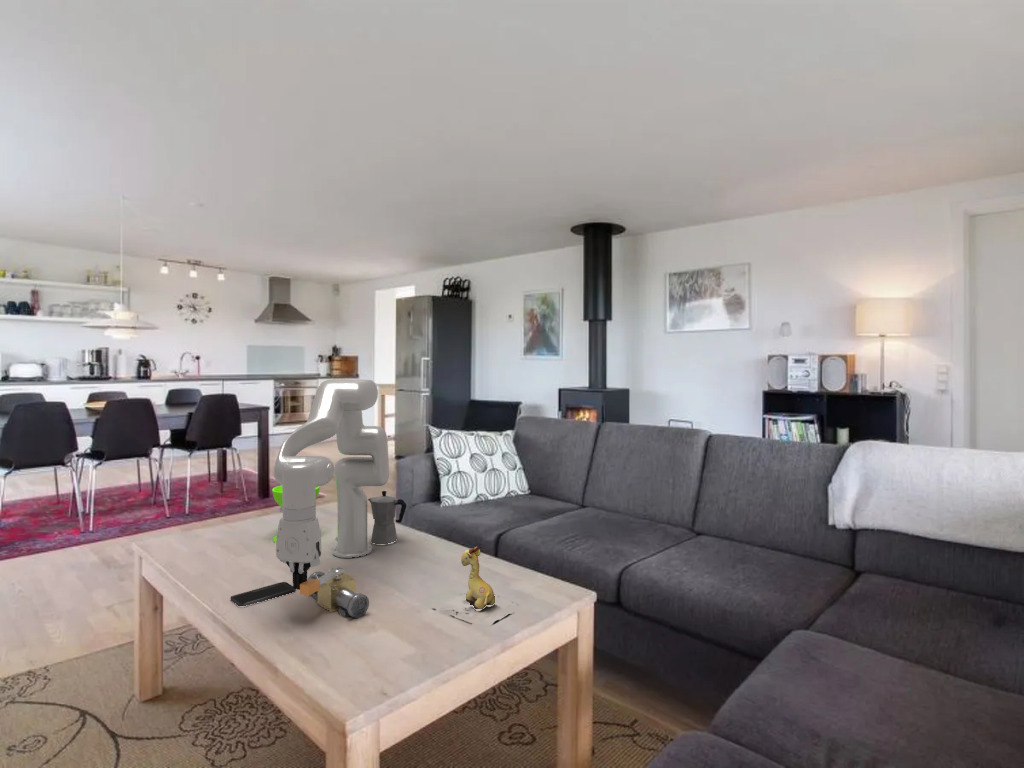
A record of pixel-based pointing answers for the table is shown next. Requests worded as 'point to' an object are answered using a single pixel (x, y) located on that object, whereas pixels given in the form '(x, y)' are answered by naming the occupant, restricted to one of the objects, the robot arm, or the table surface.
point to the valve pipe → (341, 595)
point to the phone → (262, 594)
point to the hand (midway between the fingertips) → (300, 587)
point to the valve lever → (319, 581)
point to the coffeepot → (385, 518)
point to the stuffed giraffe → (477, 582)
